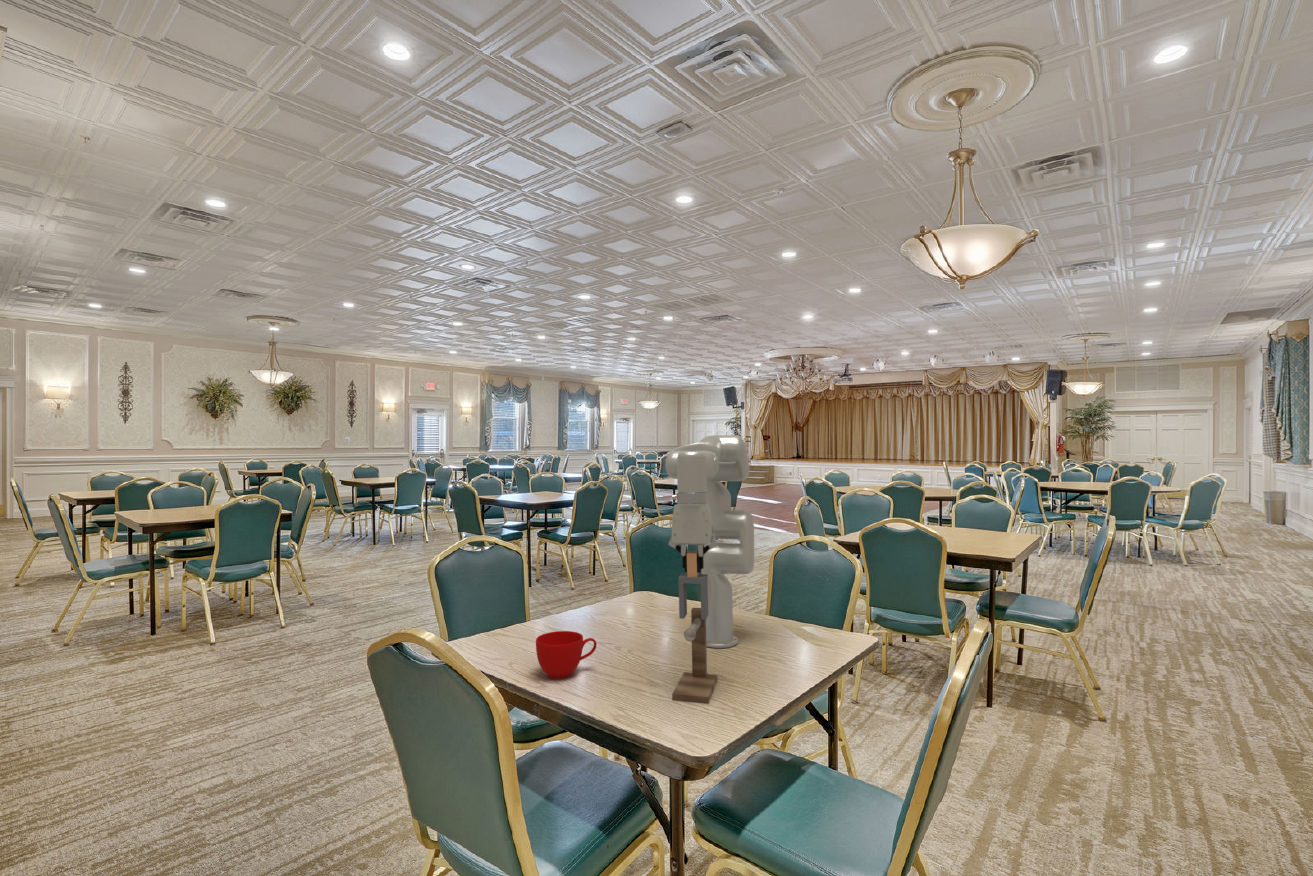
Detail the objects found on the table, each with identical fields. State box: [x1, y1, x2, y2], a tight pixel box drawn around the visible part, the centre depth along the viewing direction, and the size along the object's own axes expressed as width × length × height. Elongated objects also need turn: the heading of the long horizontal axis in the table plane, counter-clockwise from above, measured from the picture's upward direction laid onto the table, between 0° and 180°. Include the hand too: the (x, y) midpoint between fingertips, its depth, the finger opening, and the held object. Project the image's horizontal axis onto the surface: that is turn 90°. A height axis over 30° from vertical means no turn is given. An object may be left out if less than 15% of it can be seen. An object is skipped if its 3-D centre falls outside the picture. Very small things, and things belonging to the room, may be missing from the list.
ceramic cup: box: [535, 630, 597, 679], centre depth 163 cm, size 13×17×10 cm
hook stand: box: [671, 607, 718, 704], centre depth 150 cm, size 16×9×19 cm, turn 166°
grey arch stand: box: [678, 550, 708, 620], centre depth 150 cm, size 7×4×16 cm, turn 76°
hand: (693, 570), depth 150 cm, fingers closed on grey arch stand, 2 cm apart
